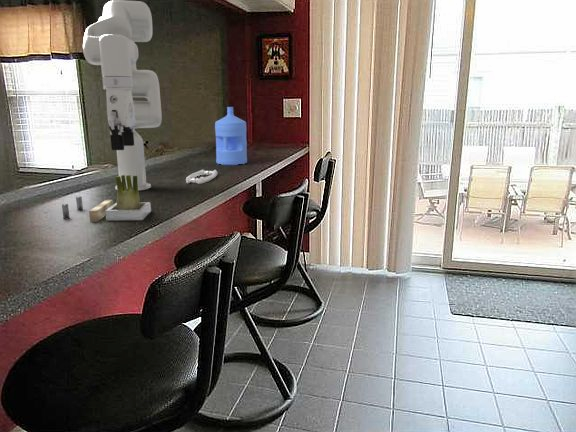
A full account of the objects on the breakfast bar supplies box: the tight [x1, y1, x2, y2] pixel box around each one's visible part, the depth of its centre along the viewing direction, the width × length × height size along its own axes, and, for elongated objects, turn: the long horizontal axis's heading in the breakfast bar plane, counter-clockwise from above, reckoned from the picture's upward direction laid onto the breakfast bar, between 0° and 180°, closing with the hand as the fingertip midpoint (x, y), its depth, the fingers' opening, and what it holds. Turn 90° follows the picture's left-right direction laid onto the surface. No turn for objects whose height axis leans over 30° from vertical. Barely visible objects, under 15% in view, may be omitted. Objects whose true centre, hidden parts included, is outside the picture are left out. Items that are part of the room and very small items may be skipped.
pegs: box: [61, 195, 84, 220], centre depth 136 cm, size 12×2×4 cm, turn 3°
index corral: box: [105, 201, 152, 222], centre depth 134 cm, size 10×10×3 cm
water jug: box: [214, 106, 248, 166], centre depth 233 cm, size 16×16×28 cm
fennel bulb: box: [115, 175, 141, 210], centre depth 133 cm, size 6×5×12 cm
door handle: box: [185, 169, 218, 185], centre depth 193 cm, size 3×10×25 cm
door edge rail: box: [88, 199, 114, 223], centre depth 135 cm, size 14×2×3 cm, turn 3°
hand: (123, 147), depth 130 cm, fingers open, 9 cm apart
